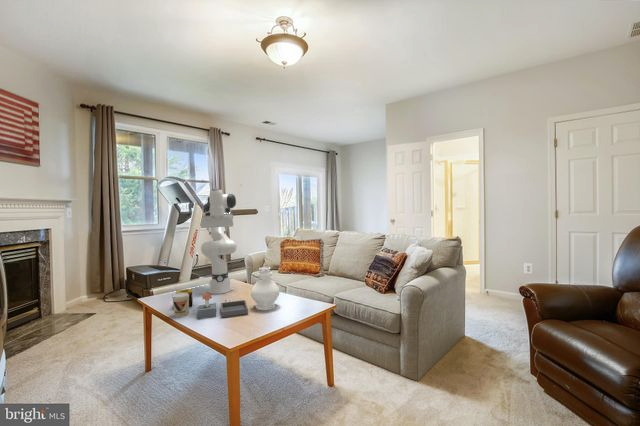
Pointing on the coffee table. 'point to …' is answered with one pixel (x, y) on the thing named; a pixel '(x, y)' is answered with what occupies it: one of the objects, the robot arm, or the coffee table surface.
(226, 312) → the tray
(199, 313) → the hitch block
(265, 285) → the decorative vase
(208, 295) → the pin
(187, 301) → the coffee cup
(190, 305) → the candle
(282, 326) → the coffee table surface
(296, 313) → the coffee table surface
